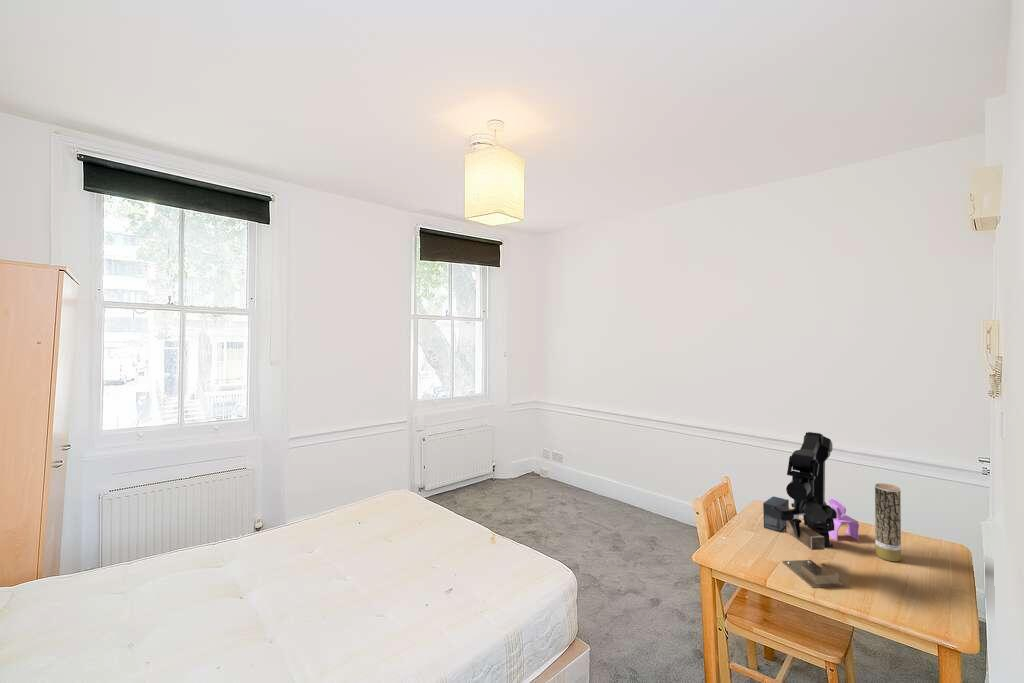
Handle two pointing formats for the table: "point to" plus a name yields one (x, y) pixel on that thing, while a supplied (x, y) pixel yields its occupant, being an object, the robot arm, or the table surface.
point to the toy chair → (843, 520)
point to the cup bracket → (814, 573)
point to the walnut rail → (807, 536)
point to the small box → (772, 520)
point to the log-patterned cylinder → (888, 522)
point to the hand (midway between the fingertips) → (804, 537)
